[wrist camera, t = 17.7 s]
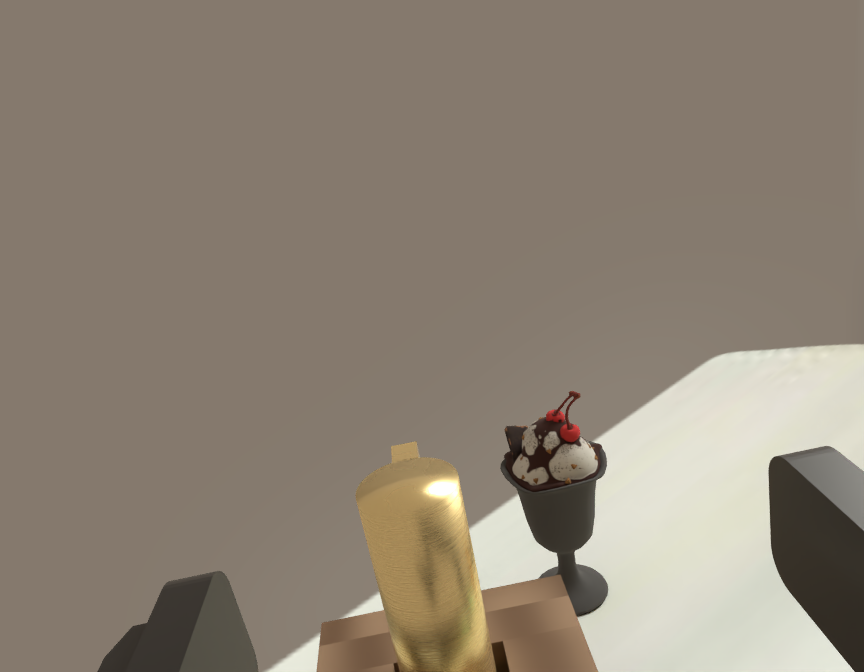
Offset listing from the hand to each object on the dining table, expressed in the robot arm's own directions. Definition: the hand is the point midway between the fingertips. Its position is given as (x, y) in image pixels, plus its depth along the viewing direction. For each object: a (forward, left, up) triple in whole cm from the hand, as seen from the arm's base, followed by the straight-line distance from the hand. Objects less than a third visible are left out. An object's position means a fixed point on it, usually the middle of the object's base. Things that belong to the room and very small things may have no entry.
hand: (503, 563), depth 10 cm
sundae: (-6, -30, -27) cm, 41 cm away
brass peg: (+2, -17, -27) cm, 32 cm away
